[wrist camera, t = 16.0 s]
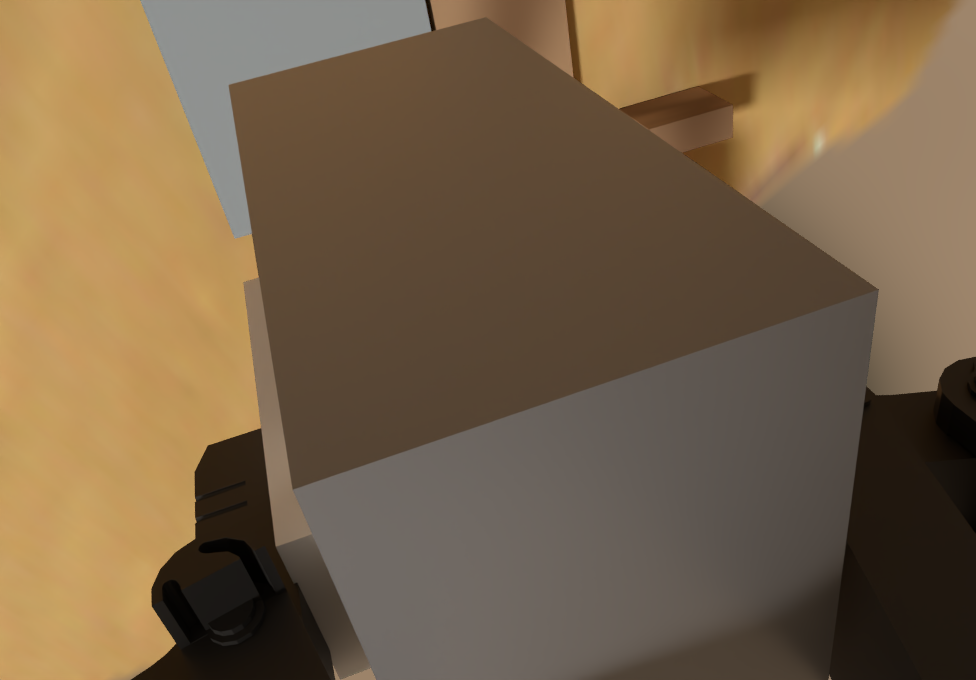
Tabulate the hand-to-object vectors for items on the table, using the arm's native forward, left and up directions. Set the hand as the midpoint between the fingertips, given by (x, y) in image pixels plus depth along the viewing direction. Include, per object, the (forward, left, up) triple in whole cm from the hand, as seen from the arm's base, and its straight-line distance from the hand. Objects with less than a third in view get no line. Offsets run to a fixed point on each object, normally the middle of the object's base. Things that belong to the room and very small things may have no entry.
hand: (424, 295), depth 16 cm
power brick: (0, 0, -1) cm, 1 cm away
